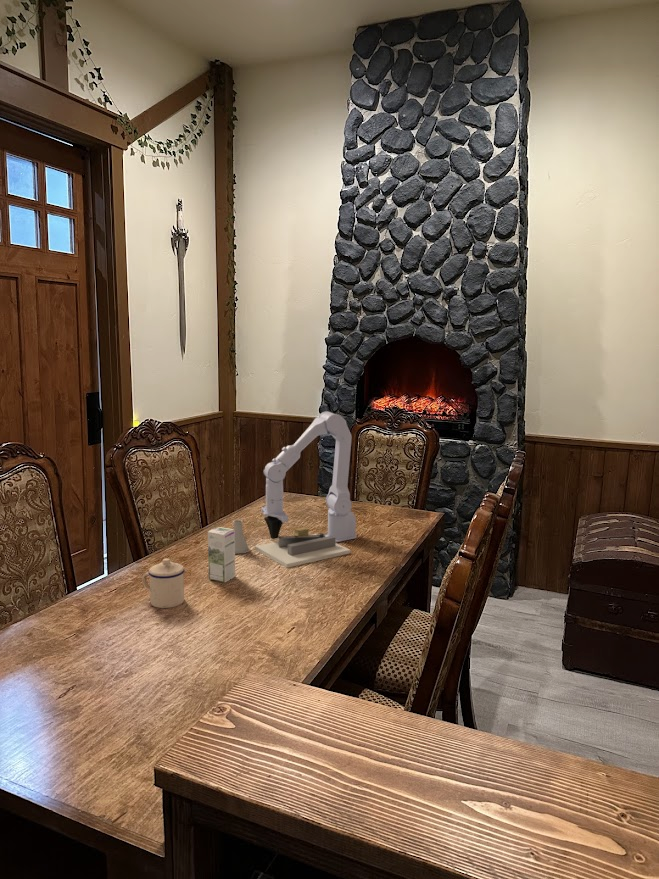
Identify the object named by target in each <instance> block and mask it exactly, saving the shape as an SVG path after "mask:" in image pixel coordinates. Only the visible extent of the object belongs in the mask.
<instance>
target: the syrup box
mask: <svg viewBox="0 0 659 879" xmlns="http://www.w3.org/2000/svg"><path fill="white" fill-rule="evenodd" d="M207 549H208V550H207V552H208V554H207V557H208V560H207V561H208V580H211V581H215V582H221V583H224V584H225V583H227V582H229V581H230V579H231V580H233V579H234V578H235V577H236V554H235V530H234V528H229V527H221V526H217V527H214V528H211V529H210V530H208V531H207Z"/></svg>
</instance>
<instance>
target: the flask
mask: <svg viewBox="0 0 659 879" xmlns="http://www.w3.org/2000/svg"><path fill="white" fill-rule="evenodd" d="M232 522H233V529H234V530H235V555H237V554H245V553H248V552H249V551H250V549H249V546H248V542H247V540H246V537H245V535H244V530H243V523H244V522H243V520H242V519H234V520H233V521H232Z"/></svg>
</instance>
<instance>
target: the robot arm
mask: <svg viewBox="0 0 659 879" xmlns="http://www.w3.org/2000/svg"><path fill="white" fill-rule="evenodd" d="M328 434H330V436H332V437H333V439H334V440H335V449H334V457H333V458H334V459H333V460H334V461H333V471H332V482H331V485H330V487H329V489H328V494H327V495H326V498H325V505H326V506H327V507H328V510H327V534H324V535H325V537H328V536H333V537H336V543H339V542H343V541H348V540H354V539H357V538H358V536H357V534H356V533H357V531H356V530H357V529H356V528H357V520H356V515H355V514H354V512H353V511H351V510H352V502H351V492H350V490H349V488H348V483H349V474H350V472H349V471H350V462H351V461H350V460H351V451H352V450H351V449H352V448H351V447H352V438H353V437H352V436H353V435H352V433H351V432H350V429H349V427H348V424H347V420H345V418H343V417H342V415H339V414H336V413H333V412H331V411H327V410H326V411H323V412H321V413H320V414H319V415H318V416H317V417H315V418H314V419H313V421H312V422H311V424H310V425H309V426H308V427H307V428H306V429H305V431H304V432H303V433H302V434H301V436H299V438H298V439H297V440H296V441H295V443H293V444H291V445H286V446H283V447H282V448H281V452H280V453H279V454H277V456H276V457H275V458H273V459H272V460H271V461H270V462H268V463H267V464H266V465H265V467H264V469H263V475H264V476H265V506H261V509H260V511H261V513H262V515H263V516H265V517H264V521H265V524H266V526H267V528H268V531H269V535H270V536H269V537H270V539H272V540H275V539H278V536H279V535H280V533H281V532H280V531H281V528H282V526H283V524H284V523H289V515H287V514H286V512H285V511H284V480H285V478H286V474H287V473H286V472H287V471H289V470H290V469H291V468H292V467H293V466H294V464H296V462H298V460H299V459H300V458H301V452H302V451H303V450H305V448H306V447H307V446H308V445H309V444H311V443H312V441H314V440H315V439H316V438H317V437H318V436H323V435H325V436H326V435H328Z"/></svg>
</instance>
